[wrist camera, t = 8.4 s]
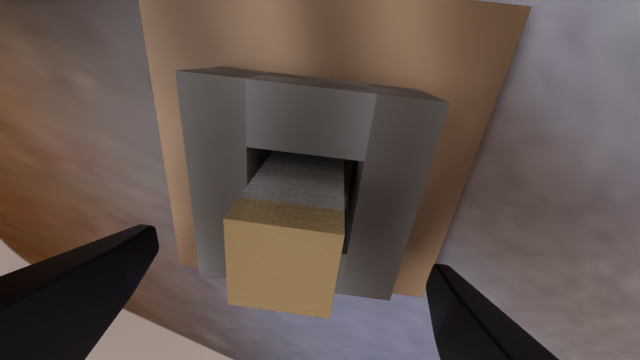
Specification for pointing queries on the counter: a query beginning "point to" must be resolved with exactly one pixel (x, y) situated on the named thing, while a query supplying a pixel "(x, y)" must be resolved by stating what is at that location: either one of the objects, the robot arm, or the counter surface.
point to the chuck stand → (329, 115)
